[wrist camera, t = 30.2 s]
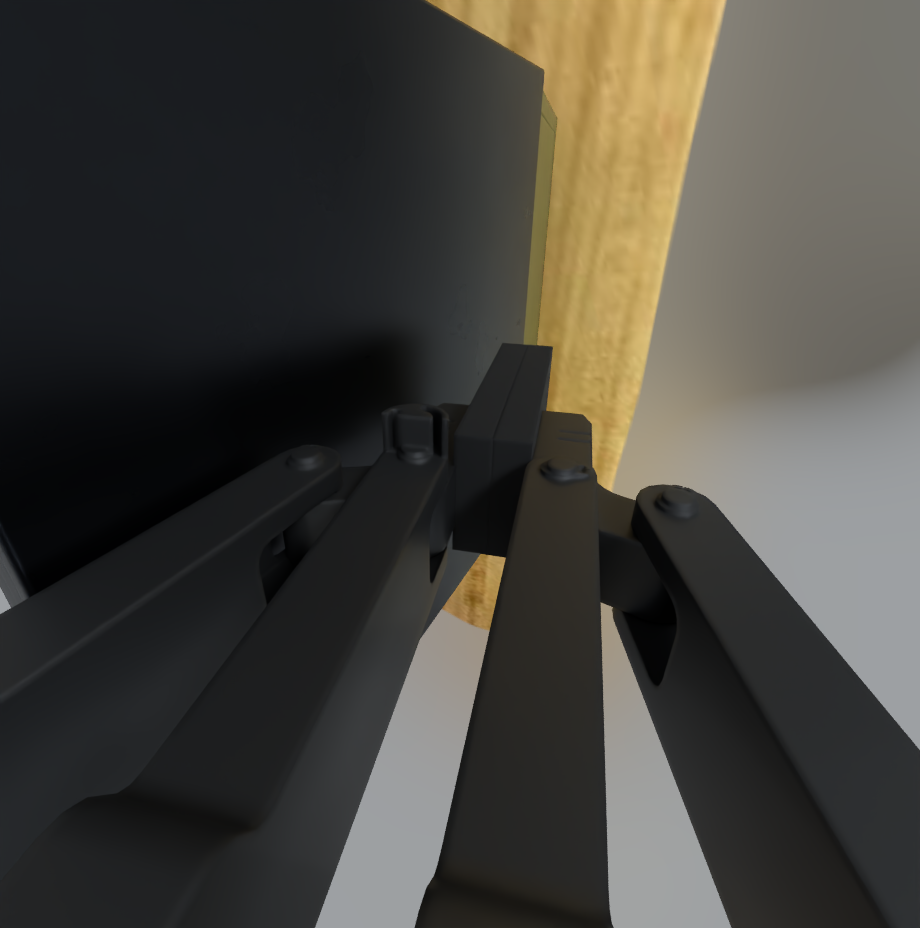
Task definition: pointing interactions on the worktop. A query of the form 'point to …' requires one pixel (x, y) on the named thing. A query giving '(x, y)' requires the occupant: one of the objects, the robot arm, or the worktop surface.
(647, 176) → the worktop surface
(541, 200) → the green open box
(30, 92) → the box lid
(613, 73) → the worktop surface
